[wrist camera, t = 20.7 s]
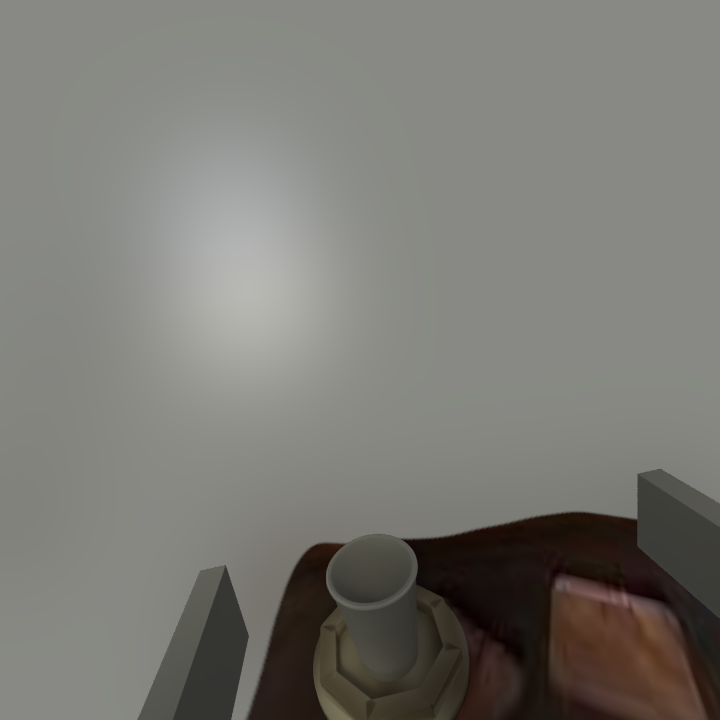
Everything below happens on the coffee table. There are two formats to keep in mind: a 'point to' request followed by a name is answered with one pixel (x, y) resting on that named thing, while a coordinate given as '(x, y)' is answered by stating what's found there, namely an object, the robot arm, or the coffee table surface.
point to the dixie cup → (378, 602)
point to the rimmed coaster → (408, 694)
